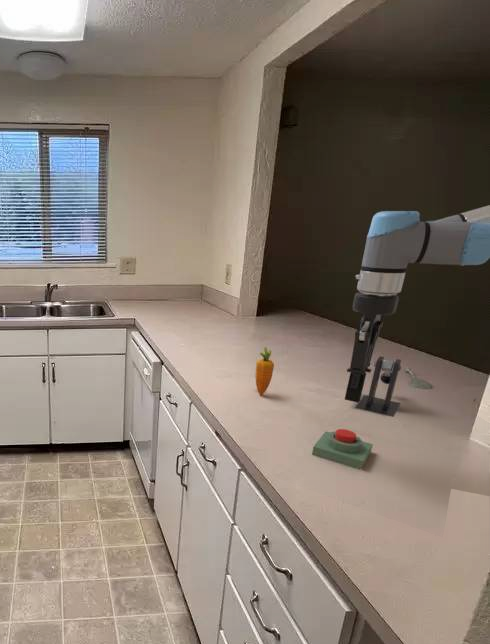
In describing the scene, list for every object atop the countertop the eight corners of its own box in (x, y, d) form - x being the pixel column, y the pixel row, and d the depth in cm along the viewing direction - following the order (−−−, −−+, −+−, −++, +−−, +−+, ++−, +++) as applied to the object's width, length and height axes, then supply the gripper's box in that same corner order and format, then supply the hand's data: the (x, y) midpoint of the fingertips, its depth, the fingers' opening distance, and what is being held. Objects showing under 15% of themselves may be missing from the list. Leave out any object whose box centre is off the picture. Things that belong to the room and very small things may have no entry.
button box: (323, 439, 107) (326, 424, 106) (370, 452, 101) (374, 437, 99) (311, 454, 100) (314, 439, 99) (361, 470, 94) (365, 453, 92)
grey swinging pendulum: (379, 384, 129) (382, 373, 129) (393, 386, 126) (397, 375, 127) (377, 368, 118) (381, 356, 119) (393, 371, 116) (397, 359, 117)
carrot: (268, 399, 131) (275, 351, 125) (250, 396, 133) (257, 349, 128) (270, 393, 135) (277, 347, 129) (253, 391, 137) (260, 345, 132)
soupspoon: (407, 393, 136) (432, 397, 133) (410, 383, 134) (436, 387, 132) (396, 370, 154) (418, 373, 151) (399, 361, 152) (421, 364, 150)
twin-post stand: (363, 399, 130) (374, 351, 125) (399, 407, 124) (412, 357, 119) (354, 411, 122) (365, 361, 117) (392, 420, 116) (405, 368, 111)
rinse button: (337, 434, 102) (338, 427, 101) (356, 439, 99) (358, 432, 99) (332, 440, 99) (333, 433, 98) (352, 445, 96) (353, 438, 96)
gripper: (362, 287, 94) (340, 387, 103) (348, 294, 85) (325, 404, 93) (404, 290, 90) (377, 395, 98) (394, 299, 80) (365, 414, 89)
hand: (352, 399), depth 96 cm, fingers closed
